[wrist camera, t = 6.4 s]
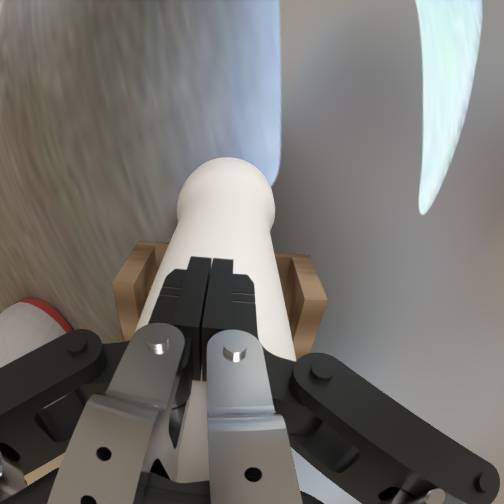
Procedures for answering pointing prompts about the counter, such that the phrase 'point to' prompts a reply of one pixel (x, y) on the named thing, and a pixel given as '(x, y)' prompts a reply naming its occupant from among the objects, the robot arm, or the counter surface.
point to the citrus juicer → (28, 328)
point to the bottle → (244, 262)
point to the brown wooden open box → (290, 273)
